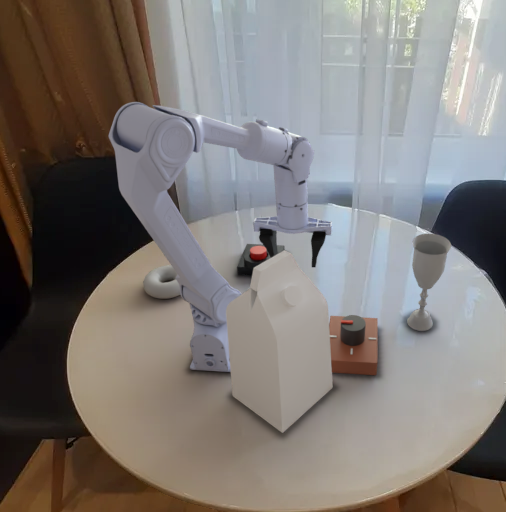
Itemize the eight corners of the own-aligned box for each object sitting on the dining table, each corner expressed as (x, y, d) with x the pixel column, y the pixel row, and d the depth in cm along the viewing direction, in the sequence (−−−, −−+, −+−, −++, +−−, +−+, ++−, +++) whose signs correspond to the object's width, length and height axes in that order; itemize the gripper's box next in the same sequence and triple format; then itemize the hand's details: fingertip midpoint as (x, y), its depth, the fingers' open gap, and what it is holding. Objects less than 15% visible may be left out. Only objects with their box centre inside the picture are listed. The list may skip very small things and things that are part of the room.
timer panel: (376, 375, 84) (377, 362, 82) (324, 372, 84) (324, 359, 83) (376, 330, 94) (377, 317, 92) (330, 327, 94) (330, 314, 92)
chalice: (436, 337, 92) (451, 257, 82) (400, 331, 93) (410, 252, 83) (437, 313, 98) (451, 235, 87) (404, 308, 99) (413, 231, 88)
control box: (277, 279, 107) (276, 263, 105) (237, 277, 108) (235, 261, 105) (284, 253, 116) (284, 238, 113) (247, 251, 116) (246, 237, 114)
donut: (183, 304, 100) (199, 275, 108) (180, 290, 98) (197, 263, 106) (137, 300, 100) (156, 272, 108) (133, 287, 98) (152, 260, 106)
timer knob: (365, 330, 89) (366, 314, 87) (364, 346, 85) (365, 330, 83) (341, 329, 89) (341, 312, 87) (339, 345, 86) (339, 329, 83)
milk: (283, 356, 87) (274, 230, 72) (332, 387, 82) (334, 257, 66) (232, 395, 80) (210, 263, 65) (282, 433, 74) (271, 297, 59)
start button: (265, 261, 106) (264, 254, 105) (249, 260, 106) (248, 253, 105) (268, 252, 109) (267, 245, 108) (252, 251, 109) (251, 245, 108)
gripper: (333, 192, 90) (333, 254, 98) (256, 188, 91) (262, 250, 99) (330, 209, 84) (330, 274, 92) (248, 205, 85) (254, 270, 93)
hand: (294, 263), depth 95 cm, fingers open, 7 cm apart
